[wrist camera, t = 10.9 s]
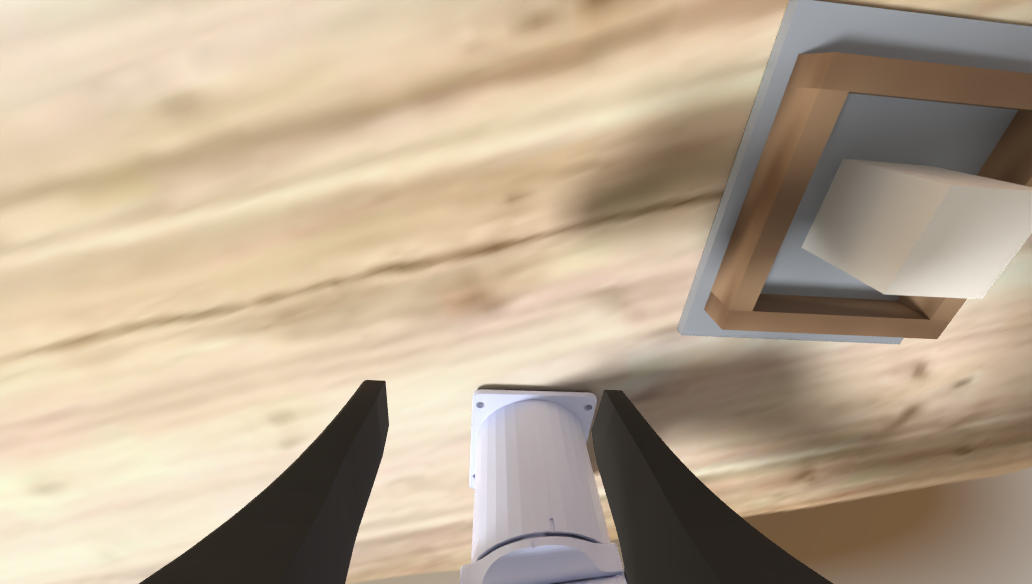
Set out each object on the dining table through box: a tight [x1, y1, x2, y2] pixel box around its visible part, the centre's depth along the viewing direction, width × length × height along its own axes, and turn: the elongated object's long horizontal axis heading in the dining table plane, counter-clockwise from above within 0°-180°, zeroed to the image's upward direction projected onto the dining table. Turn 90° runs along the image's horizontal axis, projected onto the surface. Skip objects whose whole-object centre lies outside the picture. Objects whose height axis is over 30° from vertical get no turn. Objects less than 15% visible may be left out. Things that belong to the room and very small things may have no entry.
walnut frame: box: [704, 52, 1032, 339], centre depth 19 cm, size 12×12×2 cm
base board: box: [677, 0, 1032, 344], centre depth 20 cm, size 16×14×1 cm
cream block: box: [802, 159, 1032, 299], centre depth 18 cm, size 4×4×5 cm
